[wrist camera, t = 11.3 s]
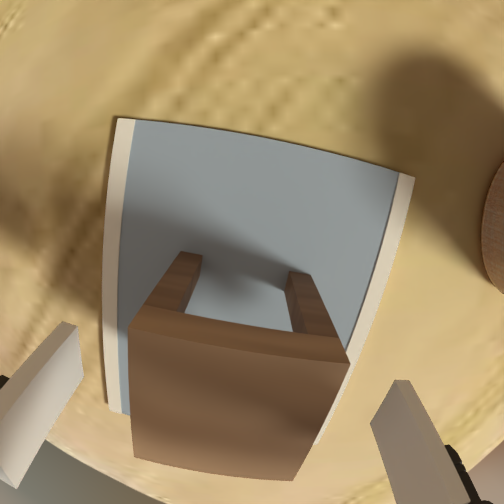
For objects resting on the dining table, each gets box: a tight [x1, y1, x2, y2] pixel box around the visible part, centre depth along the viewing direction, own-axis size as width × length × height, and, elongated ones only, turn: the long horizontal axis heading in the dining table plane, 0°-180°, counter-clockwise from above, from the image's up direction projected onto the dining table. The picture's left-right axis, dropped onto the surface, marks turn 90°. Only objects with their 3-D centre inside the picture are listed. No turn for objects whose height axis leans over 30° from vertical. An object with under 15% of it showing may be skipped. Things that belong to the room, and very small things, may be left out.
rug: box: [102, 118, 415, 445], centre depth 18 cm, size 20×16×1 cm
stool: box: [128, 251, 351, 481], centre depth 14 cm, size 7×7×8 cm
